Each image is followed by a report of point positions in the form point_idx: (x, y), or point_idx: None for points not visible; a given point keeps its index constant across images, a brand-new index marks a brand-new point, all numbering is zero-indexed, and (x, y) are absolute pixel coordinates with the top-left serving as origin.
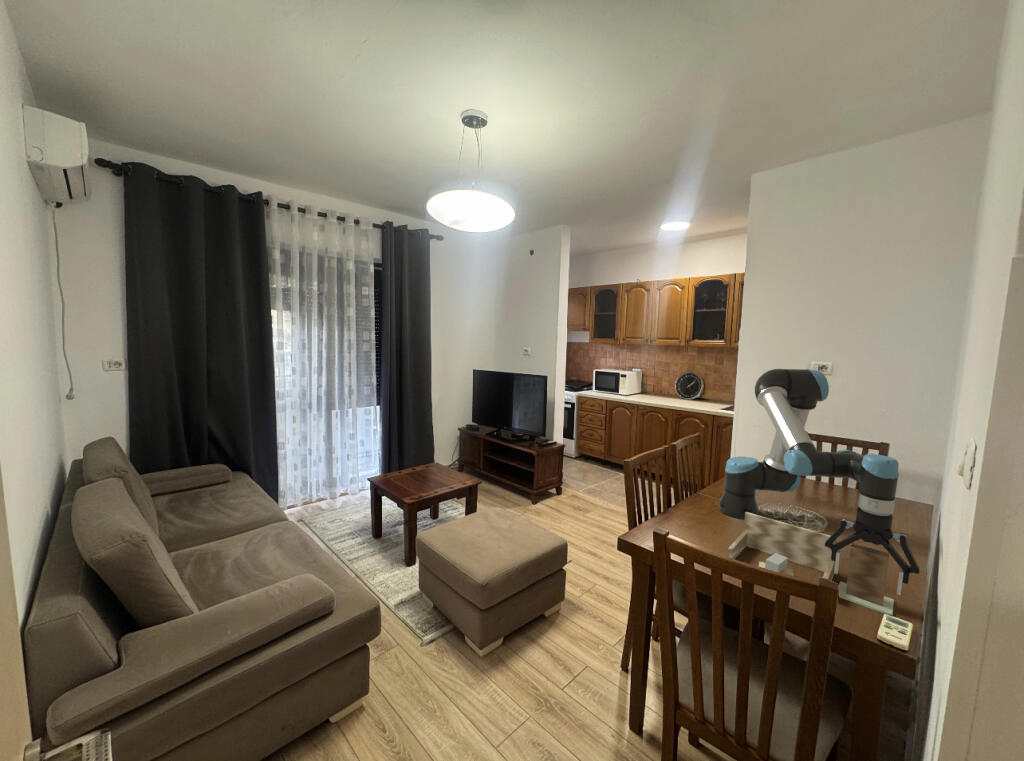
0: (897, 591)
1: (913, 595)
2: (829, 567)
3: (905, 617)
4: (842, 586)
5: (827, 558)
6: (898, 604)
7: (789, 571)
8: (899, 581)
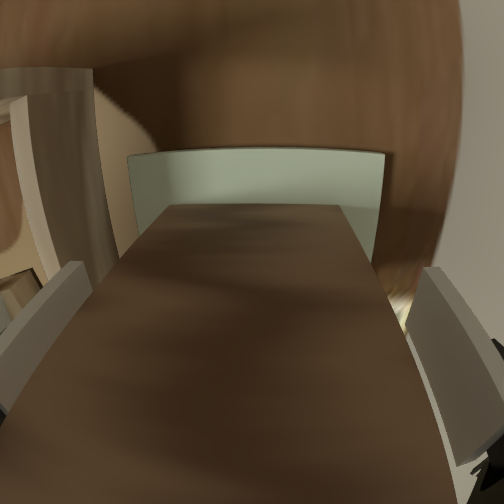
0: (412, 336)
1: (448, 16)
2: (44, 247)
3: (404, 276)
4: (149, 213)
5: (3, 106)
6: (398, 169)
7: (16, 310)
8: (438, 397)
